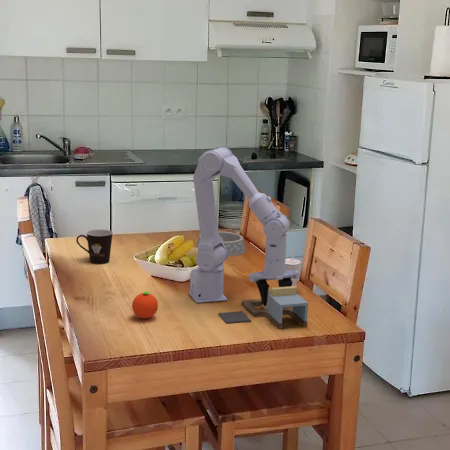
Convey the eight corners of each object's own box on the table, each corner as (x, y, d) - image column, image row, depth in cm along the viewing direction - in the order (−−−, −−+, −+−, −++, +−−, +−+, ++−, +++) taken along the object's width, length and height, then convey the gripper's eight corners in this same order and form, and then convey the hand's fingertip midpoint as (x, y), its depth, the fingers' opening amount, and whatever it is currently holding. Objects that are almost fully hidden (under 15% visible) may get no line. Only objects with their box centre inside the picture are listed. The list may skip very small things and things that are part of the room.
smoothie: (297, 295, 212) (300, 251, 209) (276, 293, 213) (279, 249, 210) (299, 289, 218) (303, 245, 215) (279, 287, 220) (282, 243, 216)
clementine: (134, 311, 195) (135, 286, 193) (159, 312, 195) (160, 288, 193) (129, 321, 187) (130, 296, 185) (155, 323, 187) (156, 298, 185)
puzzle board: (266, 330, 185) (266, 325, 185) (241, 304, 203) (241, 300, 203) (318, 325, 190) (318, 320, 190) (289, 300, 208) (289, 296, 208)
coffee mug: (117, 260, 239) (118, 232, 237) (100, 266, 232) (100, 237, 230) (92, 254, 245) (92, 226, 243) (74, 260, 238) (74, 231, 236)
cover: (279, 323, 186) (280, 297, 184) (267, 312, 193) (269, 287, 192) (306, 321, 189) (308, 295, 187) (294, 310, 196) (296, 285, 194)
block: (267, 312, 198) (268, 295, 197) (261, 306, 202) (262, 289, 201) (282, 310, 200) (283, 294, 198) (276, 305, 204) (277, 288, 203)
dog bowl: (199, 242, 267) (200, 228, 266) (247, 246, 265) (248, 232, 264) (191, 254, 251) (192, 240, 250) (242, 258, 249) (243, 244, 247)
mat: (226, 323, 188) (226, 322, 188) (218, 314, 195) (218, 312, 195) (250, 321, 191) (250, 320, 191) (242, 312, 197) (242, 310, 197)
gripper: (256, 263, 191) (253, 310, 195) (304, 260, 196) (301, 306, 199) (247, 256, 198) (244, 302, 201) (294, 253, 203) (291, 298, 206)
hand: (272, 303), depth 201 cm, fingers closed on block, 4 cm apart
